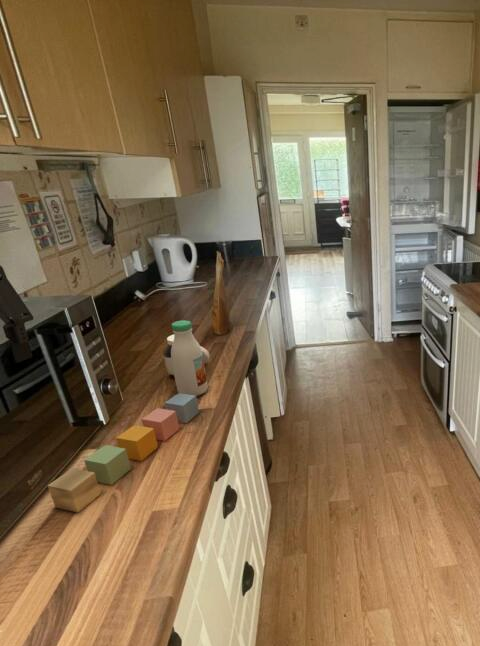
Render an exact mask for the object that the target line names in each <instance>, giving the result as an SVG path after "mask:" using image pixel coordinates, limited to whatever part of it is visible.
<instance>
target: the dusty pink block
mask: <svg viewBox="0 0 480 646" xmlns="http://www.w3.org/2000/svg"><path fill="white" fill-rule="evenodd" d="M141 423H142V426H143V427H148V428H154V432H155V436H156V441H157V440H158V441H162V442H166V441H167V440H168V439H169V438H170V437H172V436H173V435H174V434H175V433H177V432H178V431H179V430H180V425H179V422H178V420H177V415H176V411H173V410H166V408H160V407H157V408H155V409H154V410H152V411H151V412H150V413H148V414H147V415H145V416H144V417H142V418H141Z"/></svg>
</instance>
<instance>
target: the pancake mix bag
mask: <svg viewBox="0 0 480 646" xmlns="http://www.w3.org/2000/svg"><path fill="white" fill-rule="evenodd" d="M215 253H216V262H215V283H214V293H213V302H212V326H213V331H214V334H215V335H219V336H223V335H225V334H227V333H228V332H229V328H230V308H229V307H230V306H229V300H228V293H227V289H226V287H225V280H224V277H223V271H224V268H225V262H224V259H223V258H222V253H221V252H220V251H218V250H216V252H215Z"/></svg>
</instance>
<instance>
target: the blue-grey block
mask: <svg viewBox="0 0 480 646" xmlns="http://www.w3.org/2000/svg"><path fill="white" fill-rule="evenodd" d="M164 406H165V409H166V410H173V411H176V415H177V420H178V423H181V424H188V423H189V422H190V421H192V419H193V418H195V417H196V416H197V415H198V414H200V411H199V405H198V399H197V396H195V395H188V394H182V393H178V392H177V394H175V395H174V396H172V397H170V398H169V399H168V400H166V401H165V402H164Z"/></svg>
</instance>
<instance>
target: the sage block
mask: <svg viewBox="0 0 480 646" xmlns="http://www.w3.org/2000/svg"><path fill="white" fill-rule="evenodd" d="M83 462H84V465H85V468H86V471H89V472H94V473H95V476H96V479H97V482H98V483H101V484H105V485H112V486H113V485H114V484H115V483H116V482H117V481H118V480H120V479H121V478H122V477H123V476H125V475H126V474H127V473H128V472H129V471H131V469H132V466H131V463H130V459H128V455H127V451H126V449H124V448H119V446H114V445H113V446H112V445H107V444H104V445H103V446H101V447H100V448H99V449H97V450H96V451H94V452H93V453H92V454H90V455H89V456H87V457H86V458H85V459H84V460H83Z"/></svg>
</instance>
